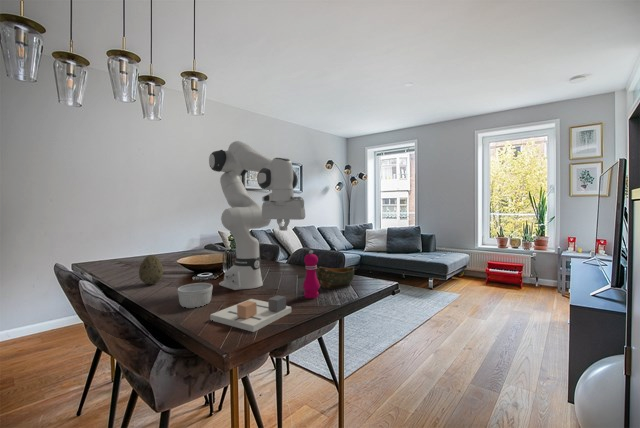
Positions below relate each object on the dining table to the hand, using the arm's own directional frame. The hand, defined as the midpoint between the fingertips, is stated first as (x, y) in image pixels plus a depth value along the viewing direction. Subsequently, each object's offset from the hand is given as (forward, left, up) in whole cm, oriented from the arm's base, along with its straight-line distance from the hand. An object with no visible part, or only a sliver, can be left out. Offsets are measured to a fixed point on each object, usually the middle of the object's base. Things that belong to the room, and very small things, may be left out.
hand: (283, 230), depth 124 cm
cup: (+8, +29, -29) cm, 42 cm away
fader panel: (+1, -20, -29) cm, 35 cm away
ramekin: (-29, -21, -29) cm, 46 cm away
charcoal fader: (+8, -15, -27) cm, 32 cm away
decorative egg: (-76, -12, -29) cm, 82 cm away
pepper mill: (+7, +10, -29) cm, 32 cm away
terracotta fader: (+3, -25, -27) cm, 37 cm away
